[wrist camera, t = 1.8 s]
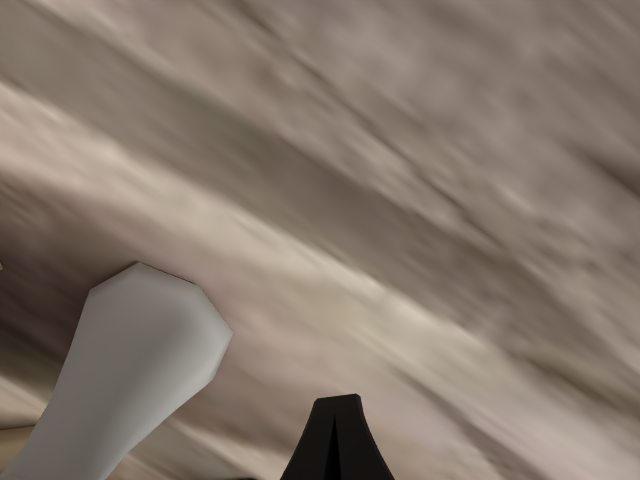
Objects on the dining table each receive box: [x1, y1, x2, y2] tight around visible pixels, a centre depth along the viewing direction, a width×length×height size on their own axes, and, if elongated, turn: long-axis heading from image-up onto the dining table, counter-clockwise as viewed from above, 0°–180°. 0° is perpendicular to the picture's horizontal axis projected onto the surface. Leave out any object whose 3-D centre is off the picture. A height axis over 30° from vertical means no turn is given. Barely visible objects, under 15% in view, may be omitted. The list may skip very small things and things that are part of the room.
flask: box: [0, 262, 233, 480], centre depth 16 cm, size 7×7×10 cm
